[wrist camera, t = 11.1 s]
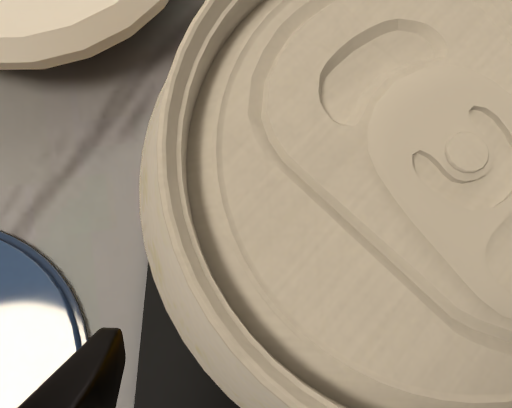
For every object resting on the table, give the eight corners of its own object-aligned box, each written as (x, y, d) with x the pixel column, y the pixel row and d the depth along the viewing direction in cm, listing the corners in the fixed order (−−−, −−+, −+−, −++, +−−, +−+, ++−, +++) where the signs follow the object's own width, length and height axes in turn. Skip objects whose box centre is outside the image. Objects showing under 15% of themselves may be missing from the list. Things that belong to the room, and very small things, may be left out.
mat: (438, 431, 17) (443, 434, 17) (134, 420, 17) (132, 422, 17) (423, 146, 20) (427, 143, 20) (162, 134, 20) (161, 130, 20)
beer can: (299, 177, 19) (466, -228, 5) (392, 288, 18) (962, 199, 4) (187, 263, 18) (-30, 78, 4) (279, 385, 17) (459, 775, 3)
